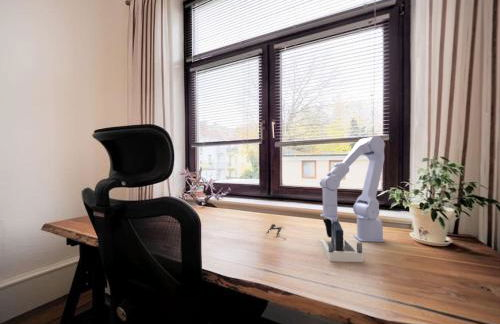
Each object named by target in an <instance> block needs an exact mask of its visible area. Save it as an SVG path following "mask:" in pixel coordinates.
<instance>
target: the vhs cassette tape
mask: <svg viewBox="0 0 500 324" xmlns="http://www.w3.org/2000/svg"><path fill="white" fill-rule="evenodd" d="M330 238H331V240H330V242H333V249H334V251H344V230H343V227H342V226H341V224H340V222H339V220H338V218H337V222H333V224H332V221H331V237H330Z"/></svg>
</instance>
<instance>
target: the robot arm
mask: <svg viewBox="0 0 500 324" xmlns="http://www.w3.org/2000/svg"><path fill="white" fill-rule="evenodd" d="M385 147H386V142H385V141H384V140H383V138H381V137H380V136H379V135H378V136H377V135H374V136H371V137H366V138H364V137H363V138H360V139H358V141H357V142H356V143H354V146H353V148H352V149H351V150H350V151H349V152H348V154H346V157H344V159H343V160H342V162H341V161H339V162H337V163H334V164H333V166H334V167H332V169H331V170H330V171H328V172H327V173H326V174H327V175H325V176H323V177H322V178H321V179H320V182H319V186H320V187H321V189H322V213H320V215H319V216H320V217H322V218H323V219H322V221H323V223H324V226H325V230H326V236H327V237H328V238H331V221H332V224H333V222H337V219H338V217H339V215H338V188H340V186H341V182H342V180H343V179H344V177H346V176H347V174H348V173H349V172H350V167H351V165H353V163H354V162H356V160H357V159H359V157H360V156H362V155H364V156H365V157H366V158H367V159H368V160H369V163H368V164H367V165H368V166H367V170H366V174H365V179H364V183H363V187H362V192H361V194H360V195H359V196H358V197H357V198H356V200H355V203H354V204H353V206H352V210H353V211H352V212H354V214H355V217H356V234H354V235H353V236H354V237H355V238H356V239H357V240H358V242H375V243H376V242H377V243H378V242H379V243H380V242H381V243H384V242H385V240H384V231H383V229H384V228H383V226H384V225H383V222H382V220H381V219H380V218H378V217H379V215H380V208H379V207H380V202H379V200H378V199H377V193H378V190H379V183H380V180H381V176H382V171H383V167H384V162H385Z"/></svg>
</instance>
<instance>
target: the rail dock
mask: <svg viewBox="0 0 500 324" xmlns="http://www.w3.org/2000/svg"><path fill="white" fill-rule="evenodd" d="M327 243H328V244H327ZM320 247H321V249H322V250H323V252H324V255H326V257H327V259H328V261H329V262H341V263H343V262H344V263H349V262H350V263H363V242H361V241H358V242H356V247H355V246H354V244H352V243H351V241H350V240H348V239H344V247H345V249H347V250H343V251H334V249H333V242H331V241H327V242H326V241H325V239H320Z"/></svg>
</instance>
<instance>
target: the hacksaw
mask: <svg viewBox="0 0 500 324" xmlns="http://www.w3.org/2000/svg"><path fill="white" fill-rule="evenodd" d="M274 226H275V227H274ZM278 228H279V229H278ZM269 230H271V231H272V230H277V232H276V235H277V236H274V238H276V239H278V238H281V239H283V240H284V241H286V239H287V238H286V237H281V235H280V233H281V230H282V227H281V226H279V227H276V224H274V223H273V224H271V225H270V227H269V229H268V230H267V232H266V234H265V235H267V233H269ZM279 232H280V233H279ZM278 235H279V236H278ZM277 237H278V238H277Z"/></svg>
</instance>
